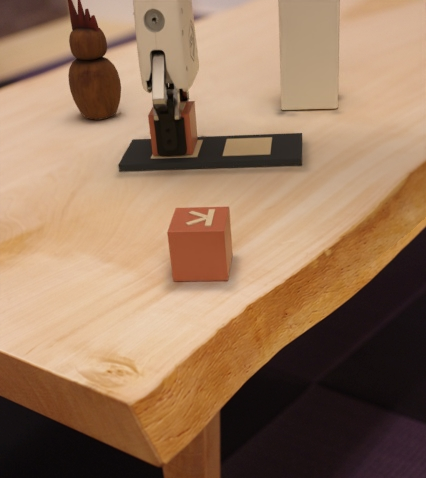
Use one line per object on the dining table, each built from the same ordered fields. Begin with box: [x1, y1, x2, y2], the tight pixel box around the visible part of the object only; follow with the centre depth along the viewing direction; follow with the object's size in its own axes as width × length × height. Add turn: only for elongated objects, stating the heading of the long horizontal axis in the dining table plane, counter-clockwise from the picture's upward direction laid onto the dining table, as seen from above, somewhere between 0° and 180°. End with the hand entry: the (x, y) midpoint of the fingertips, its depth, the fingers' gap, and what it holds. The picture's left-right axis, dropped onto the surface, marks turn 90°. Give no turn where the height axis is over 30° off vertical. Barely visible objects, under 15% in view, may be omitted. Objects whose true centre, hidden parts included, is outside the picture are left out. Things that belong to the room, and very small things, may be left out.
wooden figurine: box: [67, 0, 122, 120], centre depth 95 cm, size 7×6×15 cm
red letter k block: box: [166, 206, 233, 282], centre depth 61 cm, size 4×4×5 cm
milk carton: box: [277, 0, 341, 111], centre depth 92 cm, size 7×7×19 cm
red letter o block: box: [147, 100, 199, 155], centre depth 83 cm, size 4×4×5 cm
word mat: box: [118, 132, 303, 172], centre depth 84 cm, size 20×8×1 cm, turn 84°
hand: (175, 144), depth 84 cm, fingers closed on red letter o block, 4 cm apart
